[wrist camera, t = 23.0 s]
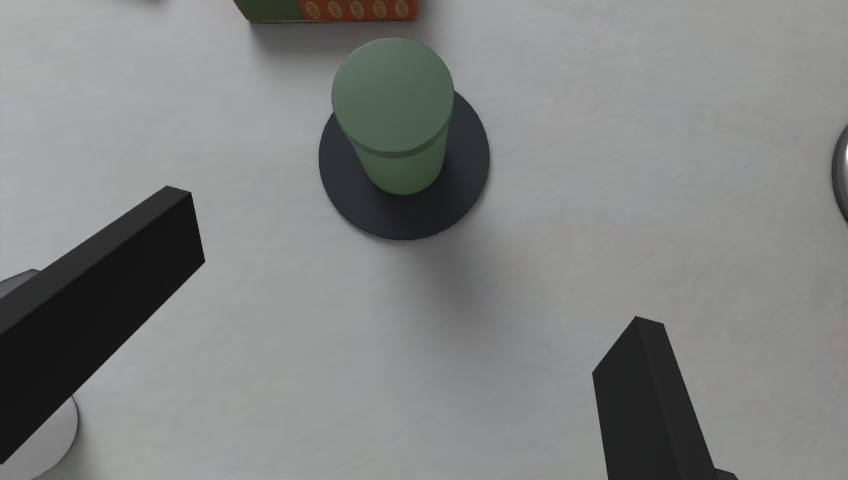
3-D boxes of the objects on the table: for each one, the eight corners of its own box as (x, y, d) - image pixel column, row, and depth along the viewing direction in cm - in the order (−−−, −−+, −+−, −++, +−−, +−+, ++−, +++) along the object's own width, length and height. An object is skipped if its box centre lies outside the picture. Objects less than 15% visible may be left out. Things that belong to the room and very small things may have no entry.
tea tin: (445, 114, 36) (454, 36, 25) (445, 197, 35) (454, 153, 24) (361, 114, 36) (333, 36, 25) (359, 196, 35) (328, 152, 24)
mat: (487, 77, 37) (488, 74, 36) (489, 240, 35) (490, 240, 34) (323, 77, 37) (322, 74, 37) (316, 239, 35) (314, 238, 35)
